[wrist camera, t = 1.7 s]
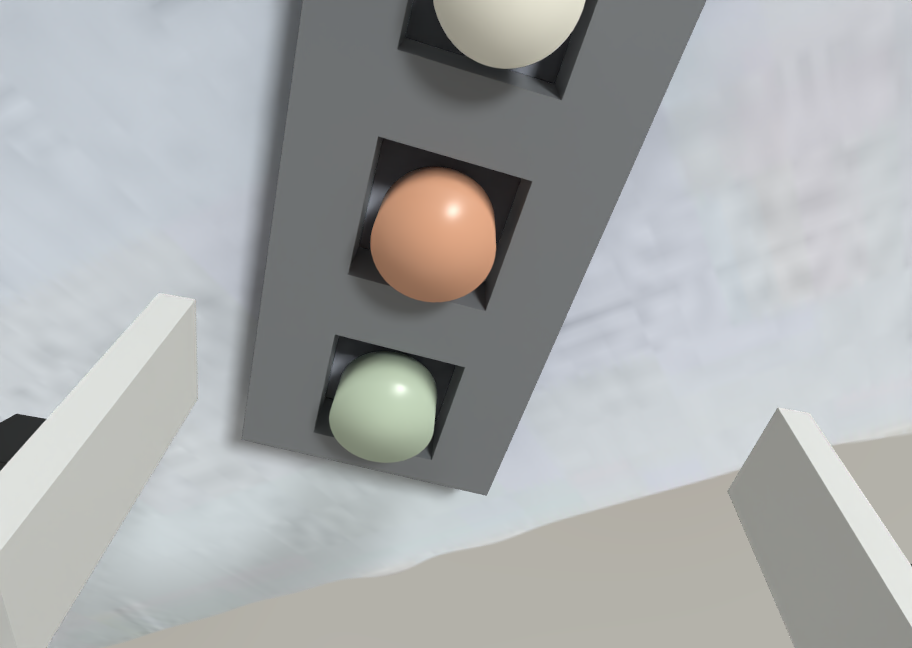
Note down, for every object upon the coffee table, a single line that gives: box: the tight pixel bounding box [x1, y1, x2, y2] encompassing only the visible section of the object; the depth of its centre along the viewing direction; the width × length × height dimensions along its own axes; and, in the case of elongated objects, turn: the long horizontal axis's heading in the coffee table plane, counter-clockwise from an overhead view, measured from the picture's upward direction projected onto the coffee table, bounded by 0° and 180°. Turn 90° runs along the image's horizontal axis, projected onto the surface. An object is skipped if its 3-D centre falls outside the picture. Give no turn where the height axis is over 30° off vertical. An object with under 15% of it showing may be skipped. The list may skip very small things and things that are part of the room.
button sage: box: [329, 351, 437, 463], centre depth 33 cm, size 5×5×3 cm
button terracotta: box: [370, 166, 496, 302], centre depth 28 cm, size 5×5×3 cm
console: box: [242, 0, 706, 496], centre depth 29 cm, size 14×30×3 cm, turn 164°
